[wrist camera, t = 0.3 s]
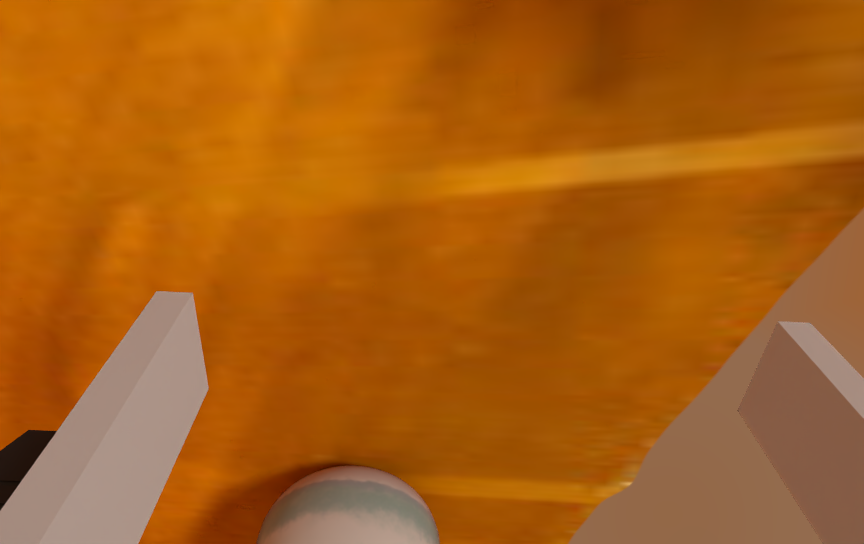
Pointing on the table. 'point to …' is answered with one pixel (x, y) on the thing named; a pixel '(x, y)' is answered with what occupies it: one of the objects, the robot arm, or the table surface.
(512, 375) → the table surface
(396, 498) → the lamp
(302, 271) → the table surface
